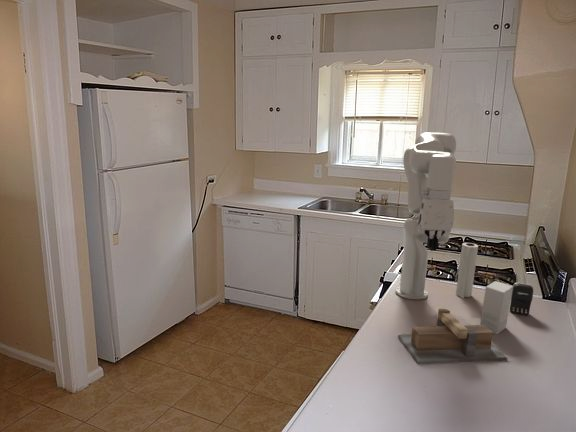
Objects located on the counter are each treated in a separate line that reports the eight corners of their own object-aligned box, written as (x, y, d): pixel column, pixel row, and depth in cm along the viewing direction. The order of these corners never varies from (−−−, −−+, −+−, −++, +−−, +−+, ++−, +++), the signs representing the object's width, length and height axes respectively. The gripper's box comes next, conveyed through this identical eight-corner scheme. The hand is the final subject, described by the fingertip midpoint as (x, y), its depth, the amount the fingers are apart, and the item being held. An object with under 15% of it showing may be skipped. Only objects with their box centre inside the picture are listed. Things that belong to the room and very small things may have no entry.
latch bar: (435, 316, 152) (436, 308, 152) (446, 316, 153) (447, 308, 152) (457, 338, 138) (458, 329, 137) (468, 338, 138) (469, 329, 138)
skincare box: (488, 321, 166) (494, 280, 163) (507, 328, 162) (514, 285, 158) (478, 328, 160) (484, 285, 157) (498, 335, 156) (504, 291, 152)
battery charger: (509, 313, 174) (513, 284, 171) (508, 309, 177) (513, 281, 175) (529, 317, 171) (534, 288, 168) (529, 313, 174) (534, 284, 172)
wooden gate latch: (397, 336, 152) (400, 312, 150) (478, 334, 156) (481, 310, 154) (417, 363, 136) (420, 336, 134) (506, 360, 140) (510, 334, 138)
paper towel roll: (461, 290, 194) (468, 241, 189) (474, 295, 189) (481, 245, 184) (450, 294, 190) (457, 243, 185) (463, 299, 185) (470, 247, 180)
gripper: (419, 196, 143) (413, 253, 147) (466, 197, 144) (459, 253, 149) (411, 191, 150) (405, 245, 155) (456, 192, 151) (449, 245, 156)
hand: (431, 249), depth 152 cm, fingers closed
